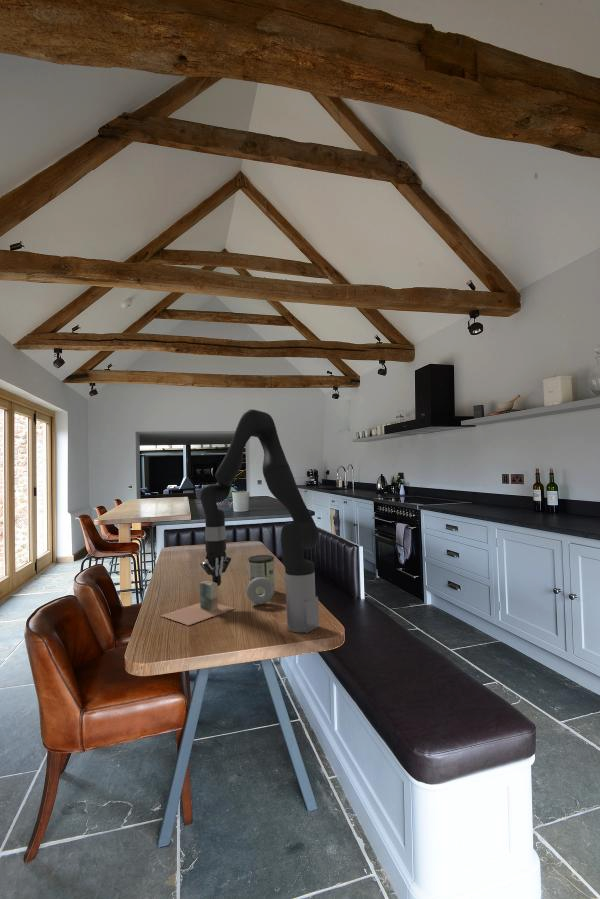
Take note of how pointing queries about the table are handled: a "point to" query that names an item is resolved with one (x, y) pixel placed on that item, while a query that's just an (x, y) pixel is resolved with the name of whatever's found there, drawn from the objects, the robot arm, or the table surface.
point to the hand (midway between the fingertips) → (216, 585)
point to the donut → (264, 597)
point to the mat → (195, 614)
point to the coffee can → (261, 570)
